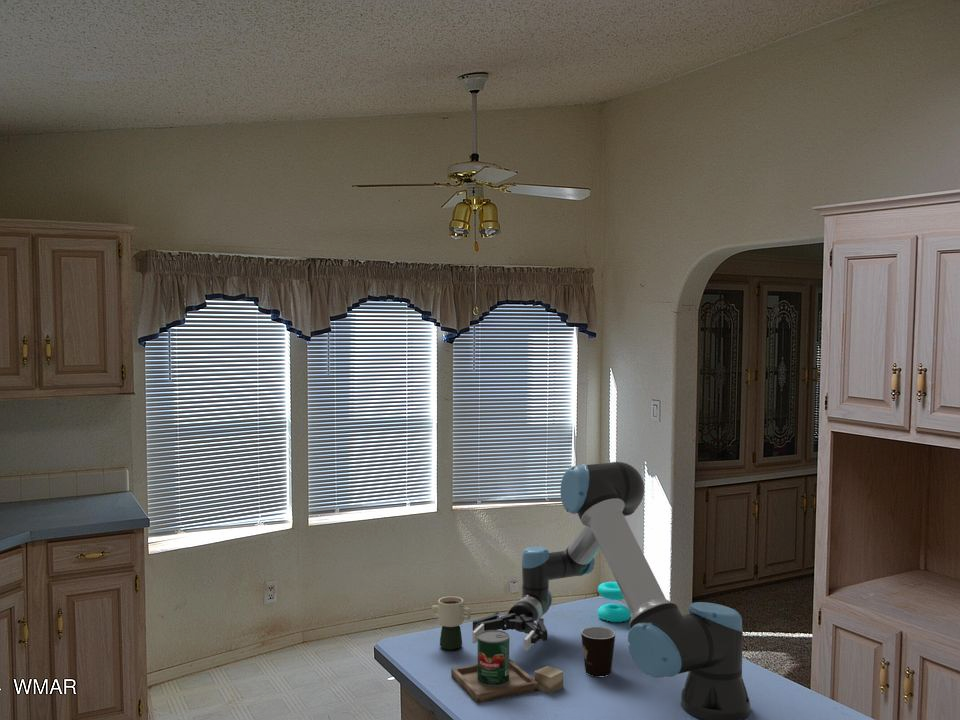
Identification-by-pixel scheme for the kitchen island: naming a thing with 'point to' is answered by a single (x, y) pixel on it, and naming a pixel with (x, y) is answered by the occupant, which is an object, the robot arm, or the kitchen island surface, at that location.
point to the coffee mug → (598, 650)
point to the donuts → (612, 610)
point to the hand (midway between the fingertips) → (499, 641)
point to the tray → (481, 693)
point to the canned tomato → (493, 658)
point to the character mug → (450, 620)
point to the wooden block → (549, 679)
